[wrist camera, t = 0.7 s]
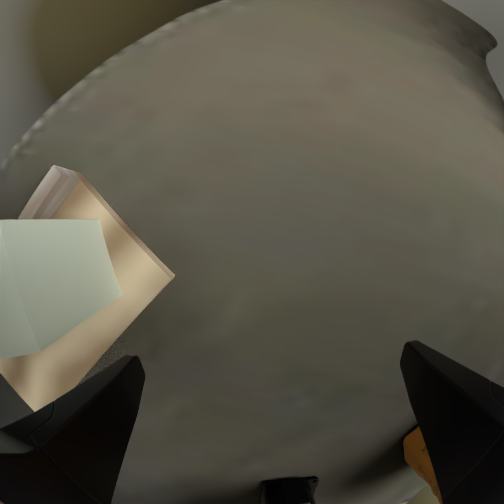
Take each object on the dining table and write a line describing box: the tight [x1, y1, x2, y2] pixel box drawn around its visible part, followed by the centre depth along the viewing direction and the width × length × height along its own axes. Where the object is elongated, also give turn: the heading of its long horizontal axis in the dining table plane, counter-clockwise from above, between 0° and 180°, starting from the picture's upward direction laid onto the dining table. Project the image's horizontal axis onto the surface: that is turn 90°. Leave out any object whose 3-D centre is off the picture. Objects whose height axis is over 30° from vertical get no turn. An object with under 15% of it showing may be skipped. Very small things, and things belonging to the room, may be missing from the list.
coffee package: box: [403, 426, 443, 504], centre depth 15 cm, size 10×12×22 cm
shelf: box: [0, 165, 175, 412], centre depth 19 cm, size 12×24×4 cm, turn 135°
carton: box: [0, 219, 122, 359], centre depth 14 cm, size 6×6×11 cm
